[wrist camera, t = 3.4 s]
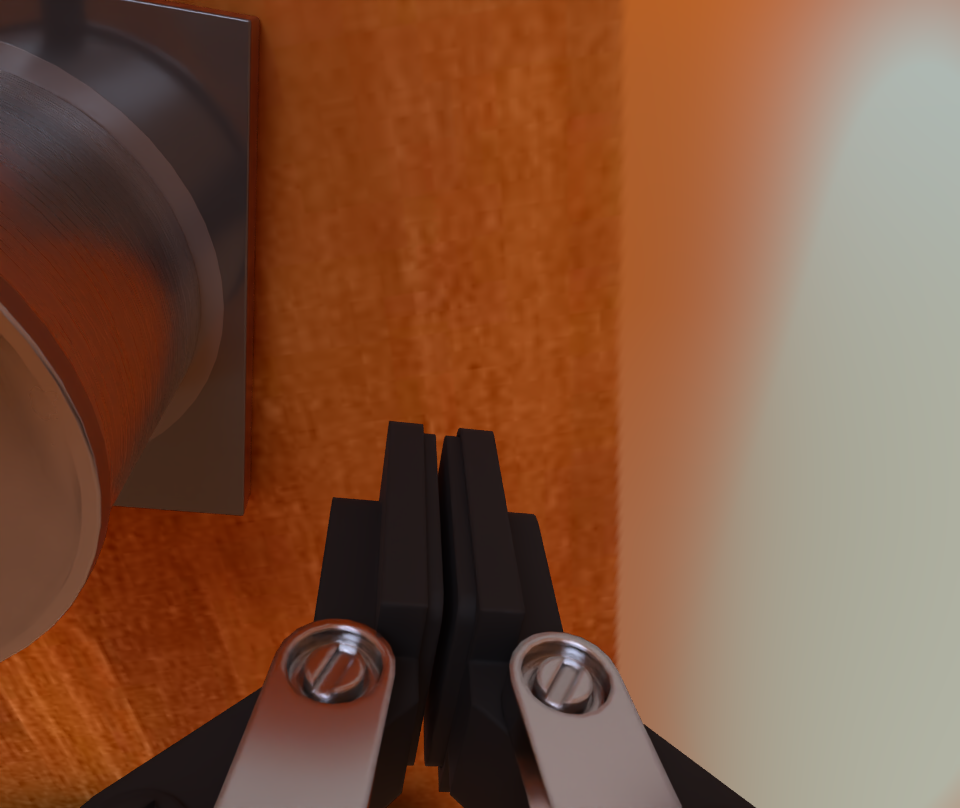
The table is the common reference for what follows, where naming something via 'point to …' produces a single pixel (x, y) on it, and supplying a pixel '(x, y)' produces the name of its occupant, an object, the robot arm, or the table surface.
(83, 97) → the hob
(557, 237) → the table surface
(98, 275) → the pot
